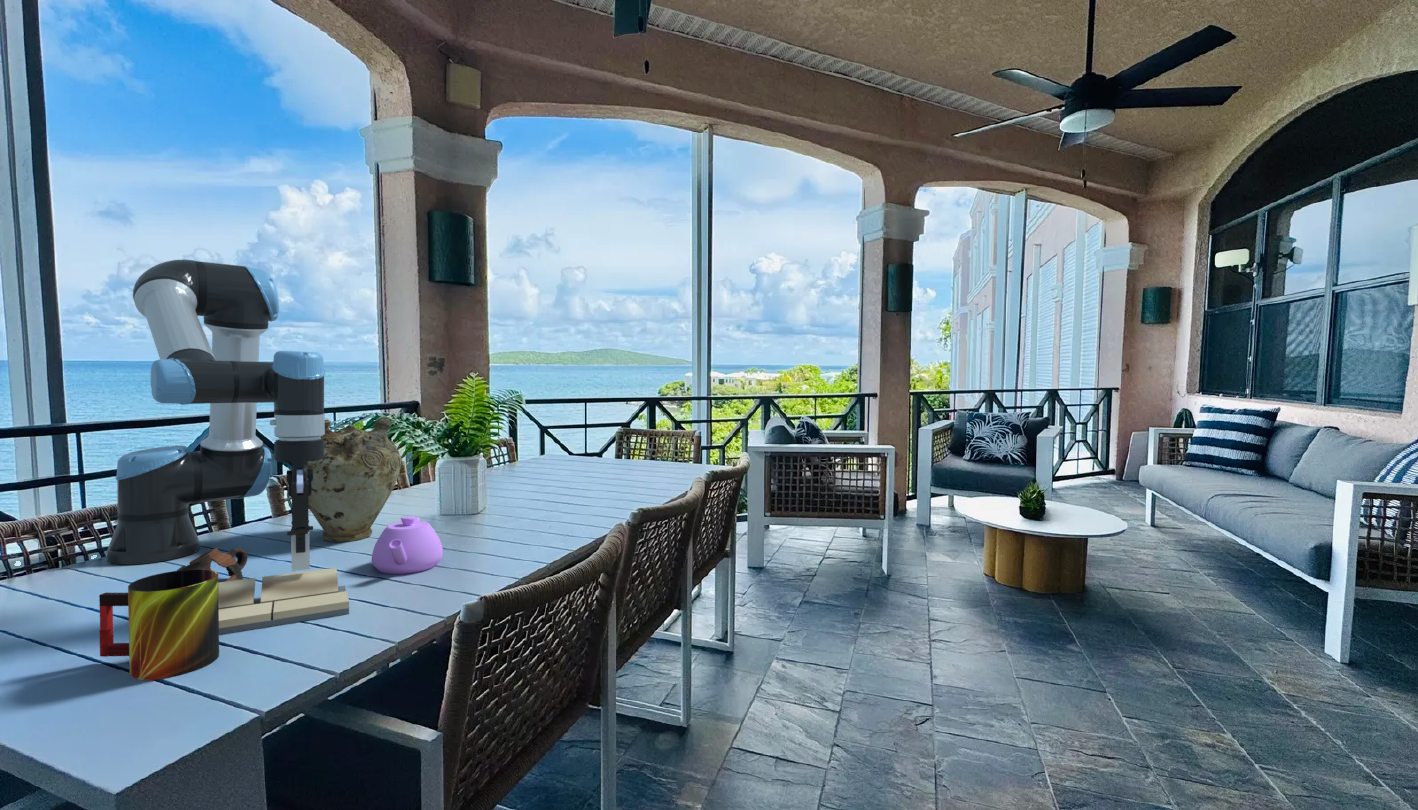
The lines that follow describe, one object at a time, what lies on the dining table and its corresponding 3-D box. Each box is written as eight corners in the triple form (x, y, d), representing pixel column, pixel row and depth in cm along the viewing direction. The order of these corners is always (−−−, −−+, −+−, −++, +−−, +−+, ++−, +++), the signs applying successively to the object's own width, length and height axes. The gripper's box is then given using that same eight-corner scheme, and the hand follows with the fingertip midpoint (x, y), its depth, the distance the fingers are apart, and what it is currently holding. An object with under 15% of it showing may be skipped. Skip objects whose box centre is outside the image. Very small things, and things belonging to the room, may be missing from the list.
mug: (102, 662, 89) (100, 578, 88) (224, 643, 95) (223, 565, 95) (75, 693, 80) (73, 600, 80) (212, 670, 87) (211, 585, 86)
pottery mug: (223, 599, 114) (194, 563, 112) (185, 617, 116) (155, 582, 114) (271, 563, 126) (245, 530, 124) (235, 580, 128) (209, 547, 126)
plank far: (262, 582, 111) (262, 576, 111) (336, 572, 117) (336, 567, 117) (260, 607, 107) (260, 602, 106) (338, 596, 113) (338, 591, 112)
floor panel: (164, 616, 105) (164, 603, 105) (344, 590, 119) (344, 579, 119) (148, 645, 94) (148, 631, 94) (349, 613, 108) (349, 601, 108)
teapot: (356, 584, 123) (356, 530, 122) (384, 554, 142) (384, 508, 142) (432, 580, 126) (432, 528, 125) (449, 552, 145) (449, 506, 145)
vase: (394, 543, 147) (381, 415, 146) (283, 556, 142) (268, 425, 141) (418, 522, 170) (407, 411, 168) (323, 533, 165) (310, 419, 164)
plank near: (171, 593, 105) (170, 588, 104) (255, 583, 111) (254, 577, 110) (165, 621, 100) (164, 615, 99) (253, 608, 106) (252, 603, 106)
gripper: (275, 435, 115) (276, 562, 116) (272, 442, 104) (273, 582, 105) (323, 434, 119) (324, 556, 120) (325, 441, 108) (326, 575, 109)
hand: (300, 568), depth 113 cm, fingers closed
